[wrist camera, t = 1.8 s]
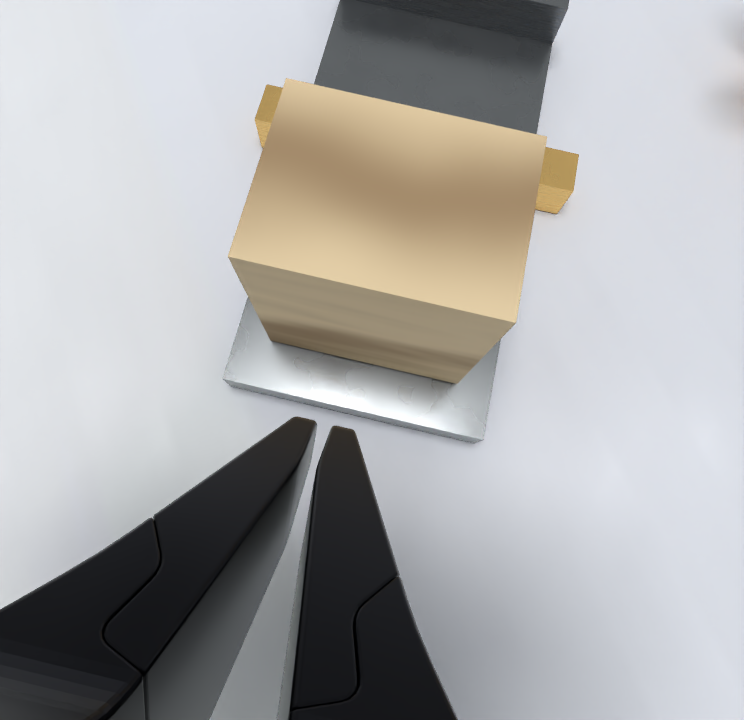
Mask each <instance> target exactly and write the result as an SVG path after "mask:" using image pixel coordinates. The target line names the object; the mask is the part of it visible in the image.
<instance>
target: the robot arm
mask: <svg viewBox="0 0 744 720" xmlns="http://www.w3.org/2000/svg"><path fill="white" fill-rule="evenodd" d="M316 429H317V423H316V422H315V421H314V420H310V419H306V418H301V417H293V418H291V419H290V420H289V421H287V422H286V423H284V424H283V425H281V426H280V427H279V428H277V429H276V430H274V431H273V432H272V433H270V434H269V435H267V436H266V437H264V438H263V439H262V440H260V441H259V442H257V443H256V444H254V445H253V446H252V447H250V448H249V449H247V450H246V451H244V452H243V453H242V454H240V455H239V456H237V457H236V458H235V459H233V460H232V461H230V462H229V463H227V464H226V465H225V466H223V467H222V468H220V469H219V470H217V471H216V472H215V473H213V474H212V475H210V476H209V477H208V478H206V479H205V480H203V481H202V482H200V483H199V484H198V485H196V486H195V487H193V488H192V489H190V490H189V491H188V492H186V493H185V494H183V495H182V496H180V497H179V498H178V499H176V500H175V501H173V502H172V503H171V504H169V505H168V506H166V507H165V508H163V509H162V510H161V511H159V512H158V513H156V514H155V515H154V516H153V518H149V519H147V520H146V521H145V522H143V523H142V524H140V525H139V526H137V527H136V528H135V529H133V530H132V531H130V532H129V533H127V534H126V535H124V536H123V537H121V538H120V539H118V540H117V541H115V542H114V543H112V544H111V545H109V546H108V547H106V548H105V549H103V550H102V551H100V552H99V553H97V554H95V555H94V556H92V557H90V558H89V559H87V560H85V561H84V562H82V563H80V564H79V565H77V566H75V567H73V568H72V569H70V570H68V571H67V572H65V573H63V574H62V575H60V576H58V577H56V578H55V579H53V580H51V581H49V582H48V583H46V584H44V585H42V586H41V587H39V588H37V589H35V590H34V591H32V592H30V593H28V594H27V595H25V596H23V597H21V598H20V599H18V600H16V601H14V602H13V603H11V604H9V605H7V606H5V607H4V608H2V609H0V720H209V719H210V717H211V715H212V712H213V710H214V708H215V706H216V703H217V701H218V699H219V696H220V694H221V692H222V690H223V687H224V685H225V683H226V680H227V678H228V676H229V674H230V671H231V669H232V667H233V665H234V662H235V660H236V658H237V655H238V653H239V651H240V649H241V646H242V644H243V642H244V640H245V637H246V635H247V633H248V630H249V628H250V626H251V624H252V621H253V619H254V617H255V615H256V612H257V610H258V608H259V605H260V603H261V601H262V599H263V596H264V594H265V592H266V589H267V587H268V585H269V583H270V580H271V578H272V576H273V574H274V571H275V569H276V567H277V564H278V562H279V560H280V558H281V555H282V553H283V550H284V548H285V545H286V543H287V540H288V537H289V534H290V531H291V527H292V524H293V521H294V517H295V514H296V511H297V507H298V504H299V500H300V497H301V494H302V490H303V487H304V484H305V480H306V477H307V474H308V470H309V467H310V463H311V458H312V453H313V447H314V441H315V435H316ZM277 720H458V719H457V717H456V715H455V712H454V710H453V708H452V706H451V704H450V701H449V699H448V697H447V695H446V693H445V690H444V688H443V686H442V684H441V682H440V679H439V677H438V675H437V673H436V671H435V668H434V666H433V664H432V662H431V659H430V657H429V655H428V652H427V650H426V647H425V645H424V643H423V640H422V638H421V636H420V633H419V631H418V628H417V625H416V622H415V620H414V617H413V614H412V611H411V608H410V605H409V602H408V600H407V596H406V593H405V590H404V587H403V583H402V580H401V578H399V571H398V568H397V565H396V562H395V558H394V555H393V552H392V549H391V546H390V542H389V539H388V536H387V533H386V529H385V526H384V523H383V520H382V516H381V513H380V510H379V507H378V504H377V500H376V497H375V494H374V491H373V487H372V484H371V481H370V478H369V475H368V471H367V468H366V465H365V462H364V458H363V455H362V452H361V449H360V446H359V442H358V439H357V436H356V433H355V431H354V430H352V429H348V428H344V427H340V426H333V427H332V428H331V430H330V432H329V435H328V438H327V440H326V443H325V446H324V449H323V451H322V454H321V457H320V459H319V462H318V465H317V469H316V474H315V479H314V485H313V490H312V496H311V501H310V507H309V512H308V518H307V523H306V529H305V534H304V540H303V545H302V551H301V556H300V562H299V569H298V576H297V583H296V590H295V597H294V604H293V611H292V618H291V625H290V632H289V639H288V646H287V652H286V659H285V666H284V673H283V680H282V687H281V694H280V701H279V708H278V715H277Z"/></svg>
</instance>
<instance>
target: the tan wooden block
mask: <svg viewBox="0 0 744 720" xmlns="http://www.w3.org/2000/svg"><path fill="white" fill-rule="evenodd" d="M546 141H547V137H546V136H541V135H537V134H533V133H528V132H524V131H519V130H515V129H510V128H506V127H501V126H497V125H493V124H488V123H484V122H479V121H475V120H470V119H466V118H461V117H457V116H452V115H448V114H444V113H439V112H435V111H430V110H426V109H421V108H417V107H412V106H408V105H403V104H399V103H395V102H390V101H386V100H381V99H377V98H372V97H368V96H363V95H359V94H354V93H350V92H346V91H341V90H337V89H332V88H328V87H323V86H319V85H314V84H310V83H305V82H301V81H297V80H292V79H288V78H286V81H285V84H284V87H283V90H282V93H281V96H280V99H279V102H278V105H277V108H276V111H275V114H274V117H273V120H272V123H271V126H270V129H269V132H268V135H267V139H266V142H265V145H264V148H263V151H262V154H261V157H260V160H259V163H258V166H257V169H256V172H255V175H254V178H253V181H252V184H251V187H250V190H249V193H248V196H247V200H246V203H245V206H244V209H243V212H242V215H241V218H240V221H239V224H238V227H237V230H236V233H235V236H234V239H233V242H232V245H231V248H230V251H229V254H228V258H229V260H230V262H231V264H232V266H233V268H234V270H235V272H236V273H237V275H238V277H239V279H240V281H241V283H242V285H243V287H244V289H245V291H246V293H247V295H248V297H249V299H250V301H251V303H252V305H253V307H254V309H255V311H256V313H257V315H258V317H259V319H260V321H261V323H262V325H263V327H264V329H265V331H266V333H267V335H268V337H269V339H270V340H271V341H275V342H279V343H284V344H288V345H292V346H297V347H301V348H305V349H309V350H314V351H318V352H322V353H327V354H331V355H335V356H339V357H344V358H348V359H352V360H357V361H361V362H365V363H369V364H374V365H378V366H382V367H387V368H391V369H395V370H399V371H404V372H408V373H412V374H417V375H421V376H425V377H430V378H434V379H438V380H442V381H447V382H451V383H455V384H458V383H459V382H460V381H461V379H462V378H463V377H464V376H465V375H466V374H467V373H468V372H469V371H470V370H471V369H472V368H473V367H474V366H475V365H476V364H477V363H478V362H479V361H480V360H481V359H482V358H483V357H484V356H485V355H486V353H487V352H488V351H489V350H490V349H491V348H492V347H493V346H494V345H495V344H496V343H497V342H498V341H499V340H500V339H501V338H502V337H503V336H504V335H505V334H506V333H507V332H508V331H509V330H510V329H511V327H512V326H513V325H514V324H515V323H516V319H517V314H518V308H519V302H520V296H521V290H522V284H523V278H524V272H525V266H526V260H527V254H528V248H529V242H530V236H531V230H532V224H533V218H534V212H535V206H536V200H537V194H538V188H539V182H540V176H541V170H542V164H543V158H544V153H545V147H546Z"/></svg>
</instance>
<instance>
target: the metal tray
mask: <svg viewBox="0 0 744 720" xmlns="http://www.w3.org/2000/svg"><path fill="white" fill-rule="evenodd" d="M568 5H569V0H340V2H339V5H338V9H337V12H336V15H335V18H334V21H333V25H332V28H331V31H330V34H329V38H328V41H327V44H326V47H325V50H324V54H323V57H322V60H321V63H320V67H319V70H318V73H317V76H316V79H315V83H314V85H319V86H323V87H328V88H332V89H337V90H341V91H346V92H350V93H354V94H359V95H363V96H368V97H372V98H377V99H381V100H386V101H390V102H395V103H399V104H403V105H408V106H412V107H417V108H421V109H426V110H430V111H435V112H439V113H444V114H448V115H452V116H457V117H461V118H466V119H470V120H475V121H479V122H484V123H488V124H493V125H497V126H501V127H506V128H510V129H515V130H519V131H524V132H528V133H533V134H536V133H537V127H538V122H539V116H540V110H541V104H542V99H543V93H544V87H545V81H546V76H547V70H548V64H549V58H550V53H551V47H552V43H553V41H554V38H555V36H556V34H557V32H558V29H559V27H560V25H561V23H562V21H563V18H564V16H565V14H566V12H567V9H568ZM282 90H283V88H281V87H276V86H272V85H266V88H265V91H264V94H263V97H262V100H261V103H260V105H259V108H258V111H257V114H256V117H255V122H256V126H257V130H258V134H259V138H260V142H261V146H262V147H263V148H264V145H265V142H266V139H267V135H268V132H269V129H270V126H271V123H272V120H273V117H274V114H275V111H276V108H277V105H278V102H279V99H280V96H281V93H282ZM578 157H579V154H574V153H570V152H565V151H561V150H556V149H552V148H548V147H545V153H544V158H543V164H542V170H541V176H540V182H539V188H538V194H537V200H536V206H535V209H537V210H541V211H545V212H550V213H554V214H557V213H558V212H559V210H560V209H561V208H562V206H563V205H564V203H565V202H566V201H567V199H568V198H569V197H570V195H571V194H572V193H573V190H574V184H575V177H576V170H577V163H578ZM500 340H501V339H500ZM500 340H499V341H498V342H497V343H496V344H495V345H494V346H493V347H492V348H491V349H490V350H489V351H488V352H487V353H486V355H485V356H484V357H483V358H482V359H481V360H480V361H479V362H478V363H477V364H476V365H475V366H474V367H473V368H472V369H471V370H470V371H469V372H468V373H467V374H466V375H465V376H464V377H463V378H462V379H461V381H460V382H459V383H458V384H455V383H451V382H447V381H442V380H438V379H434V378H430V377H425V376H421V375H417V374H412V373H408V372H404V371H399V370H395V369H391V368H387V367H382V366H378V365H374V364H369V363H365V362H361V361H357V360H352V359H348V358H344V357H339V356H335V355H331V354H327V353H322V352H318V351H314V350H309V349H305V348H301V347H297V346H292V345H288V344H284V343H279V342H275V341H271V340H270V339H269V337H268V335H267V333H266V331H265V329H264V327H263V325H262V323H261V321H260V319H259V317H258V315H257V313H256V311H255V309H254V307H253V305H252V303H251V301H250V299H249V297H248V299H247V302H246V305H245V308H244V311H243V315H242V318H241V321H240V324H239V328H238V331H237V334H236V337H235V340H234V344H233V347H232V350H231V353H230V357H229V360H228V363H227V366H226V369H225V373H224V376H223V380H225V381H226V382H227V383H228V384H229V385H230V386H232V387H237V388H241V389H245V390H249V391H254V392H258V393H262V394H266V395H271V396H275V397H279V398H283V399H288V400H292V401H296V402H300V403H305V404H309V405H313V406H318V407H322V408H326V409H330V410H335V411H339V412H343V413H347V414H352V415H356V416H360V417H364V418H369V419H373V420H377V421H381V422H386V423H390V424H394V425H398V426H403V427H407V428H411V429H415V430H420V431H424V432H428V433H432V434H437V435H441V436H445V437H450V438H454V439H458V440H462V441H467V442H471V443H477V442H479V441H482V440H483V437H484V432H485V426H486V420H487V414H488V409H489V403H490V397H491V391H492V386H493V380H494V374H495V368H496V363H497V357H498V351H499V345H500Z"/></svg>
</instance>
